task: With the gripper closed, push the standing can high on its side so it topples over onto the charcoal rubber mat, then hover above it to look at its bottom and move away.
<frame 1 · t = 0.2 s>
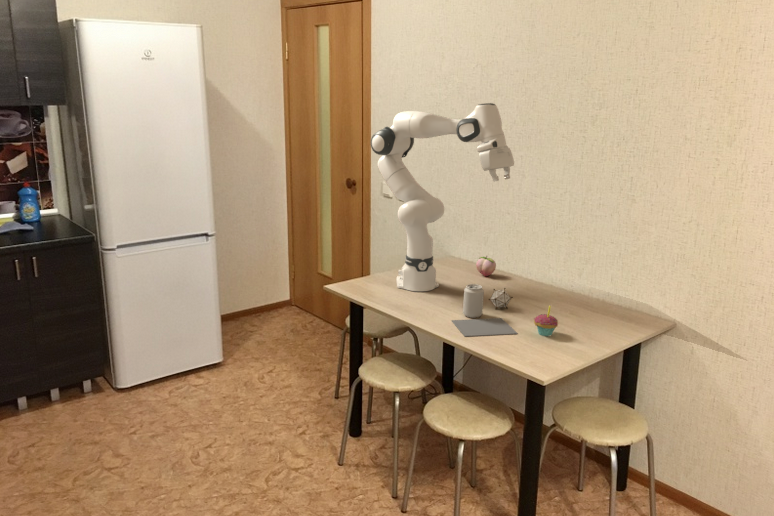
hand: (502, 180, 251), 51 cm above the table, tool tilted 20°, fingers open, 8 cm apart
cupcake: (544, 334, 237), on the table
game die: (499, 308, 263), on the table
mat: (483, 327, 241), on the table
can: (472, 315, 254), on the table
decorative fruit: (485, 276, 307), on the table
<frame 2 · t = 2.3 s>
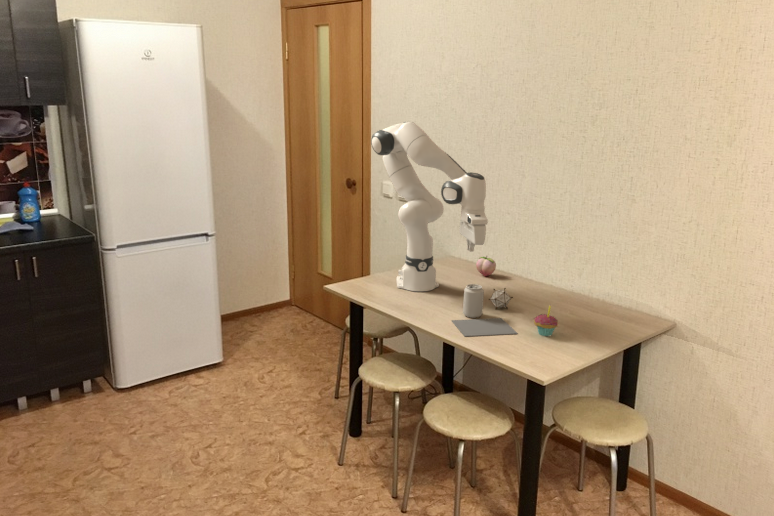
hand: (470, 250, 254), 24 cm above the table, tool pointing down, fingers closed
nothing on the table moved.
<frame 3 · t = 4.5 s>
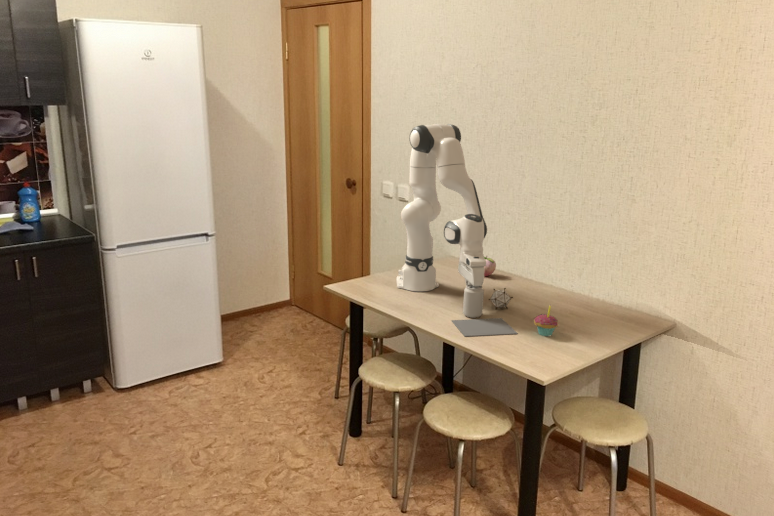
hand: (469, 290, 257), 8 cm above the table, tool pointing down, fingers closed
can: (472, 315, 254), on the table, touching gripper
everything else where it was.
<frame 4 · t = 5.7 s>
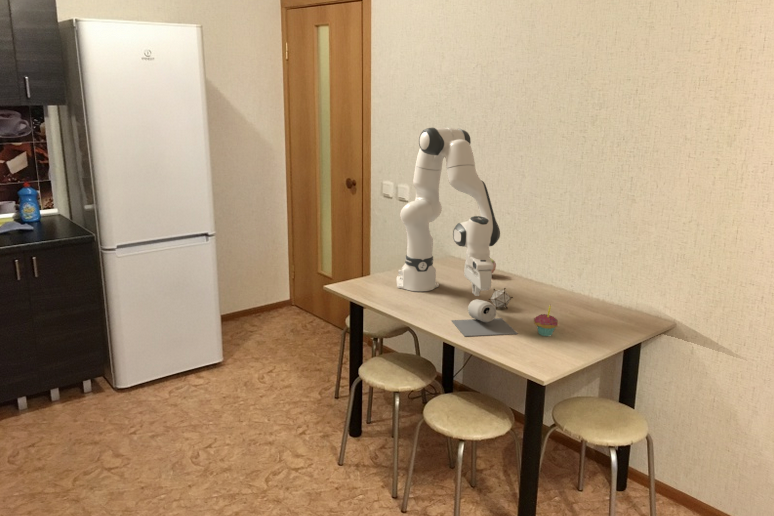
hand: (475, 294, 250), 9 cm above the table, tool pointing down, fingers closed
can: (475, 308, 250), point 4 cm above the table, touching mat
everything else where it was.
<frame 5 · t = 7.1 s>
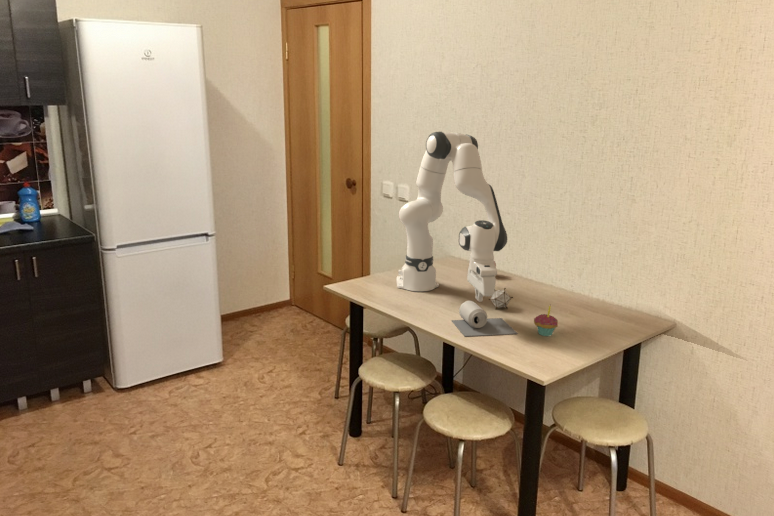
hand: (479, 300, 246), 8 cm above the table, tool pointing down, fingers closed
can: (467, 309, 248), point 4 cm above the table, touching mat
everything else where it was.
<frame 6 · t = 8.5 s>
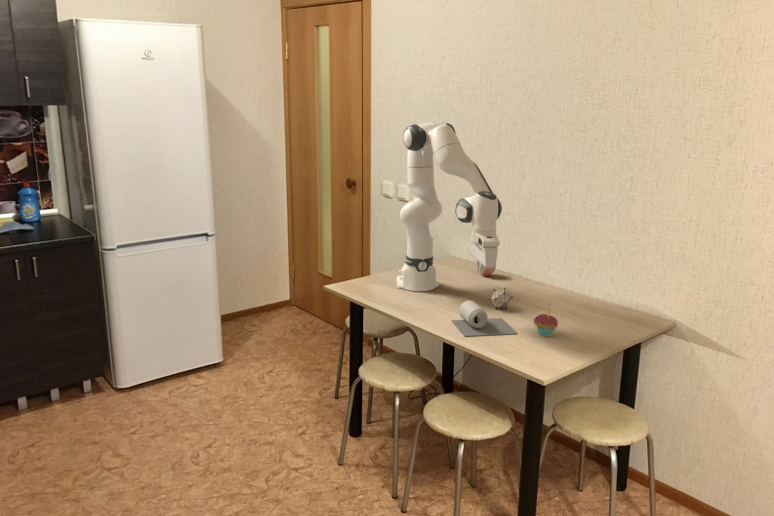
hand: (480, 272, 243), 19 cm above the table, tool pointing down, fingers closed
nothing on the table moved.
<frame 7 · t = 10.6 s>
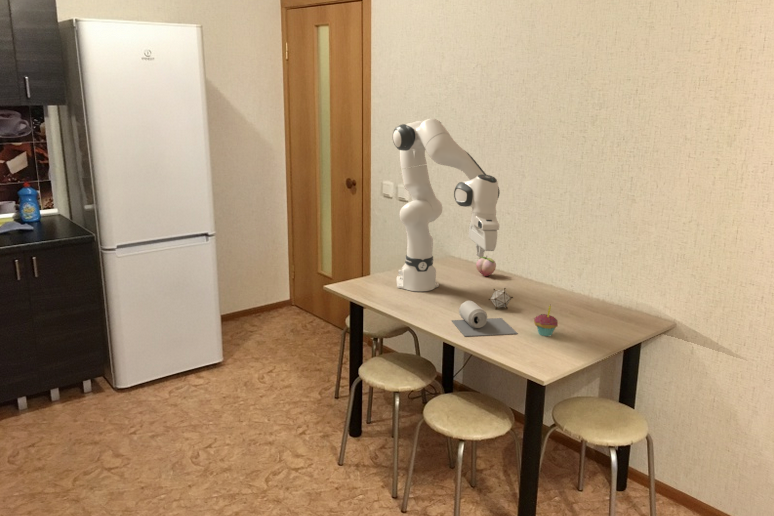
hand: (479, 256, 242), 25 cm above the table, tool pointing down, fingers closed
nothing on the table moved.
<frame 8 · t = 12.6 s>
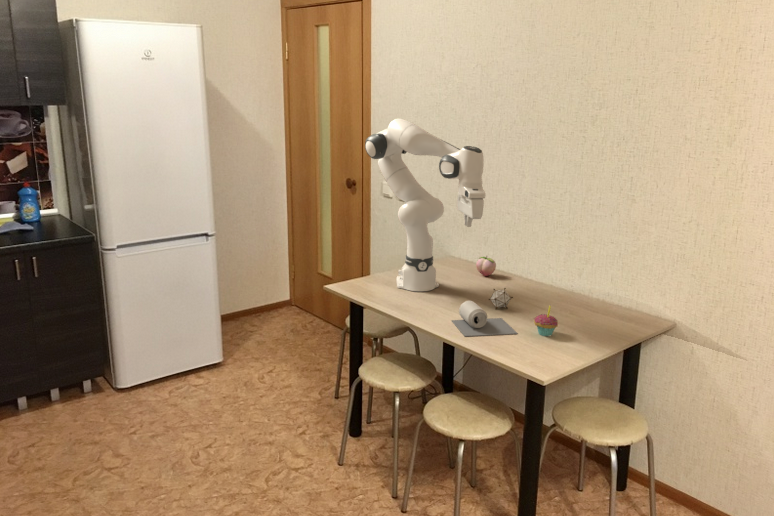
hand: (467, 226, 250), 34 cm above the table, tool pointing down, fingers closed
nothing on the table moved.
at the end: can tilted 90°; can touching mat; can inside the target area (8.7 cm from its centre), point 4.0 cm above the table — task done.
